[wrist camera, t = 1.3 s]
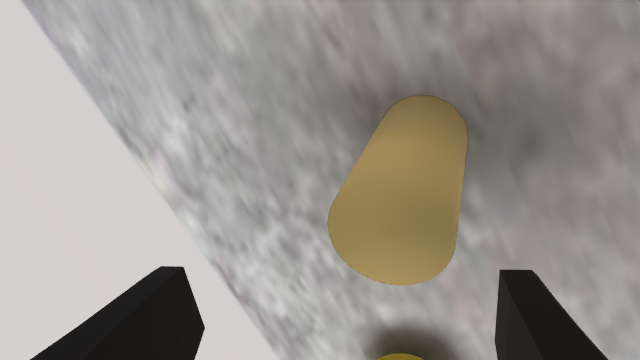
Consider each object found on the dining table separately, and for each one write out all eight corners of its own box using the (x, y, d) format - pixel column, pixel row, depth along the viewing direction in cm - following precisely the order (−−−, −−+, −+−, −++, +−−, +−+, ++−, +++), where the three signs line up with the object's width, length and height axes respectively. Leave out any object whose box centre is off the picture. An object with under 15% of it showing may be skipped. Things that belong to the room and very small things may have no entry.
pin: (475, 100, 17) (466, 190, 11) (460, 183, 19) (445, 297, 13) (381, 90, 18) (328, 167, 12) (376, 170, 20) (327, 270, 14)
